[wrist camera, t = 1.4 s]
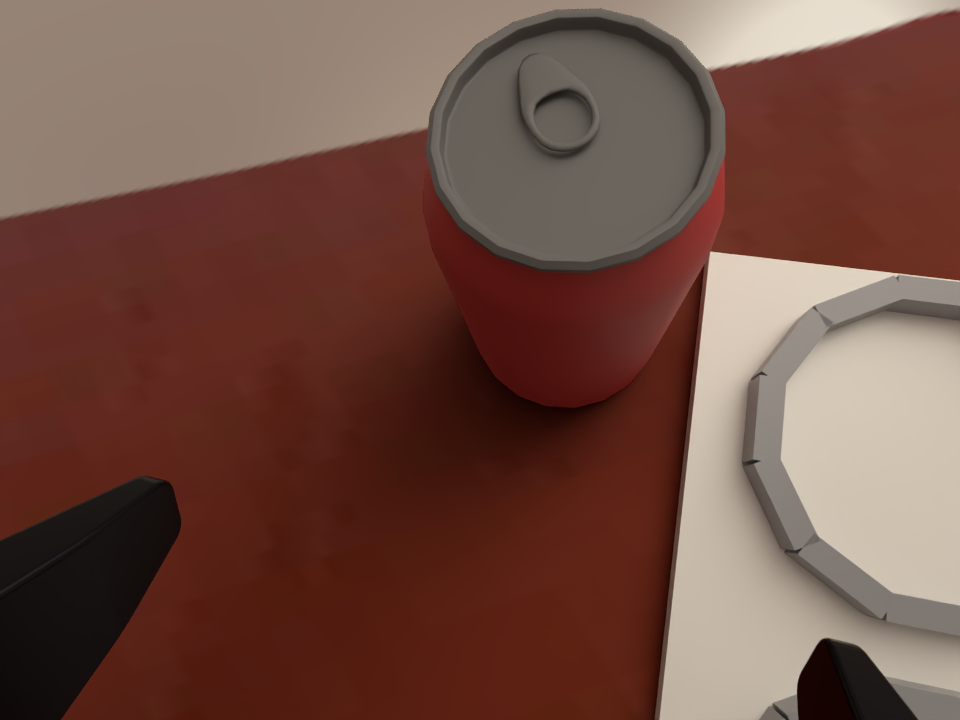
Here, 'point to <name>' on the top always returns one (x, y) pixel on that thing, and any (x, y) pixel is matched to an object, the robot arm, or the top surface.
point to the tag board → (816, 489)
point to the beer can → (573, 196)
